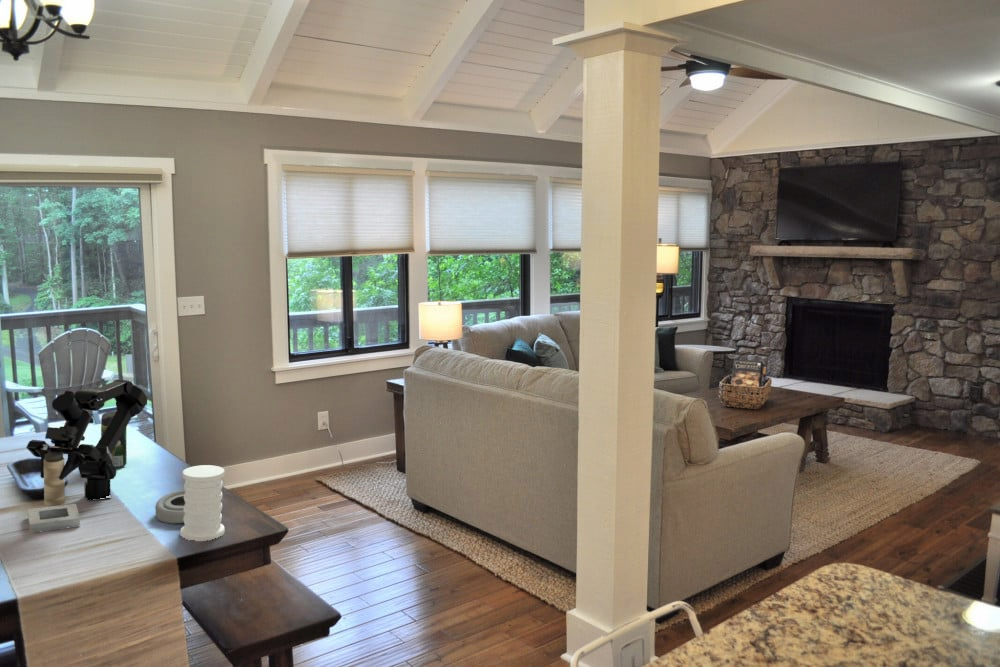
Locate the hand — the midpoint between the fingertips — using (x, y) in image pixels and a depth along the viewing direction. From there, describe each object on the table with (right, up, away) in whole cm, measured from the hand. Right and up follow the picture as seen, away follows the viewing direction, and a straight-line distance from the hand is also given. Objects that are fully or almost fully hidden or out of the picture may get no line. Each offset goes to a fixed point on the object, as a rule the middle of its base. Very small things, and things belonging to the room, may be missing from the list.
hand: (51, 478), depth 219 cm
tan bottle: (0, -7, +2) cm, 8 cm away
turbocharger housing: (+31, -14, +16) cm, 37 cm away
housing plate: (-1, -13, +3) cm, 13 cm away
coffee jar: (-9, -5, +55) cm, 56 cm away
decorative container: (+41, -16, +3) cm, 44 cm away
